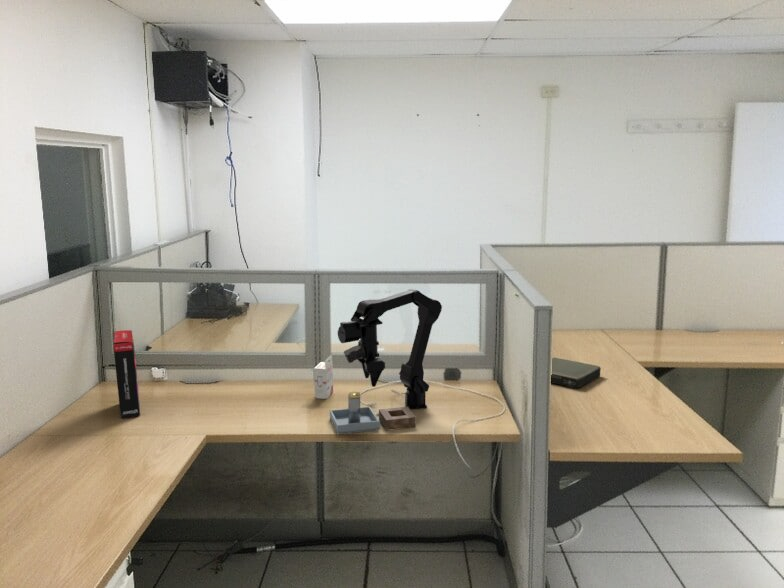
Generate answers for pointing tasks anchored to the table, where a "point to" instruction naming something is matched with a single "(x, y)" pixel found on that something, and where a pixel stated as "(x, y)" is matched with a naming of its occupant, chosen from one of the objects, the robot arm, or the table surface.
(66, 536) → the table surface
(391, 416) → the hitch block
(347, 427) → the tray
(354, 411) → the steel pin
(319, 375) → the ink cartridge box
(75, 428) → the table surface
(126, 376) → the graphics card box
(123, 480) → the table surface
